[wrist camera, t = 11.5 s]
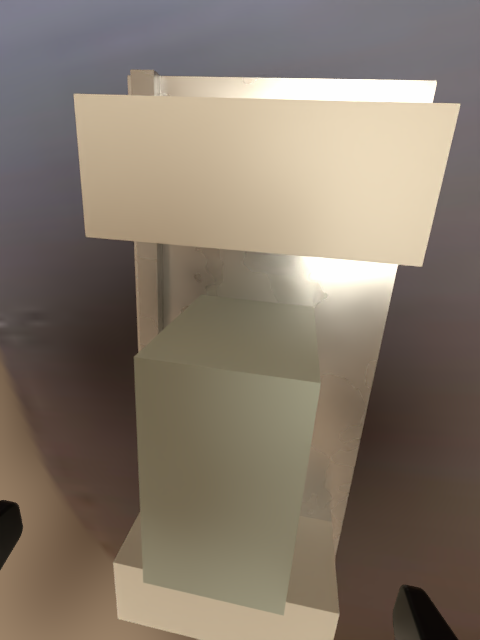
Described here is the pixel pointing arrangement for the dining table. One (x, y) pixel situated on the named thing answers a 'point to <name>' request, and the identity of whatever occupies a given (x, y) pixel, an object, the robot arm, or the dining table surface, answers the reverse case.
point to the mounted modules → (259, 236)
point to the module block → (226, 447)
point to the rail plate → (287, 286)
